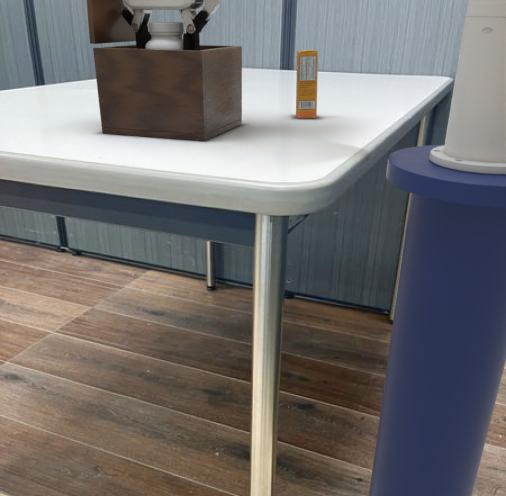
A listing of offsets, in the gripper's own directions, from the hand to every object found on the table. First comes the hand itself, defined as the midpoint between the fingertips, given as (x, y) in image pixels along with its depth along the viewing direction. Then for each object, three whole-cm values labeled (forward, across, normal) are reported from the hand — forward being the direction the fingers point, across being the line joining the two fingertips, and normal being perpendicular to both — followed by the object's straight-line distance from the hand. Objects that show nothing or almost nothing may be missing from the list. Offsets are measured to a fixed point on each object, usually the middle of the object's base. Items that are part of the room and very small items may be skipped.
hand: (168, 63), depth 82 cm
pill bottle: (+6, 0, 0) cm, 6 cm away
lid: (-11, -7, 0) cm, 13 cm away
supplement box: (+9, +16, +18) cm, 25 cm away
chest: (+9, 0, 0) cm, 9 cm away
